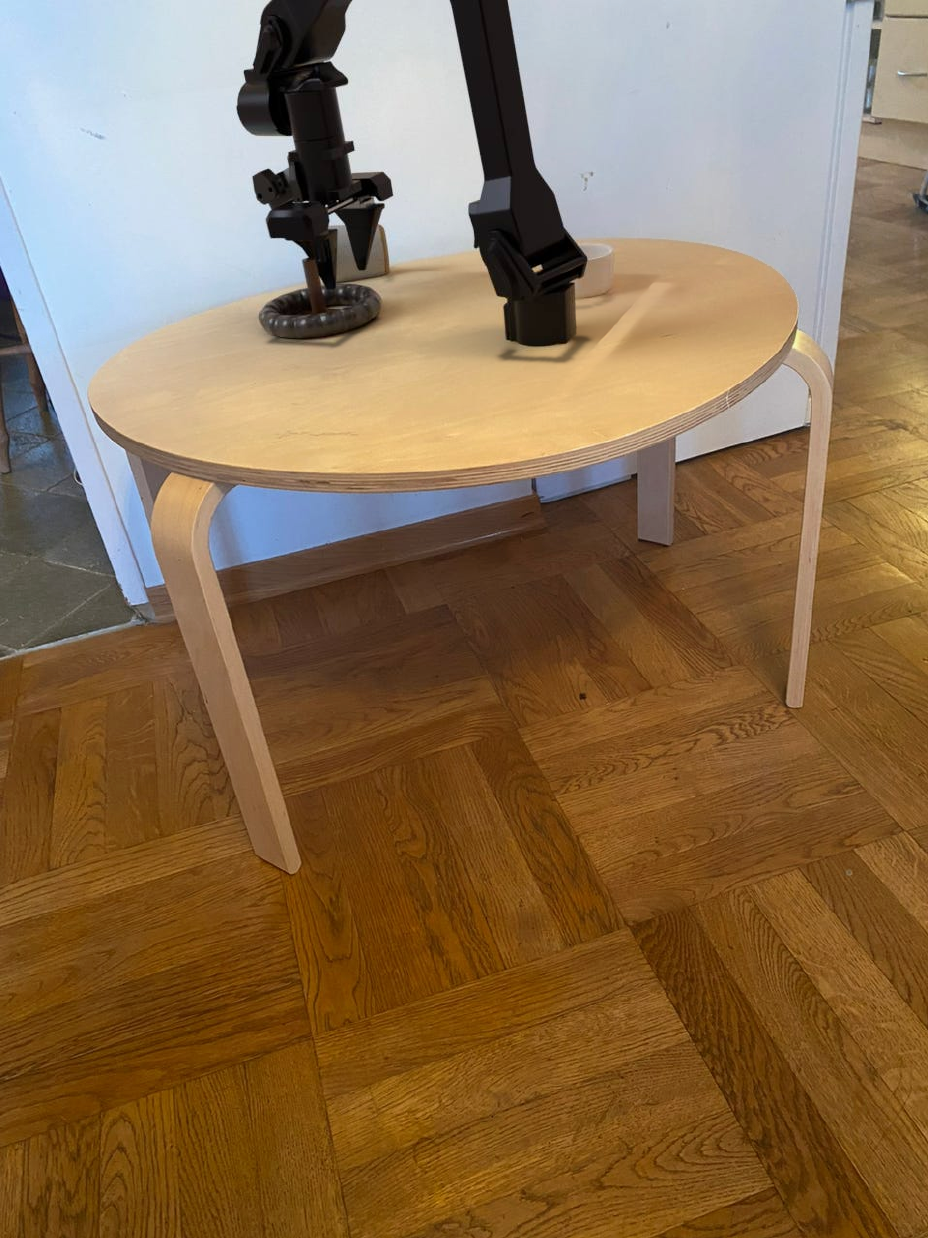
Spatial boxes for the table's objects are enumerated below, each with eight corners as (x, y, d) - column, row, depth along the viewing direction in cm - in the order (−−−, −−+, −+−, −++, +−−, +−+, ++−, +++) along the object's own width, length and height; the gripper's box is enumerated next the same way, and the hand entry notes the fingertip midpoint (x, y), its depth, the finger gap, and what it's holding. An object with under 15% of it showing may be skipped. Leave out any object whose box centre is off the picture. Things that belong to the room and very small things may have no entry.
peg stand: (374, 319, 105) (362, 248, 100) (334, 345, 99) (320, 270, 94) (312, 317, 109) (298, 248, 104) (271, 341, 103) (253, 269, 98)
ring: (403, 302, 105) (400, 282, 104) (341, 343, 95) (337, 321, 94) (306, 299, 111) (302, 280, 110) (237, 338, 101) (232, 317, 100)
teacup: (621, 304, 99) (620, 255, 96) (554, 313, 99) (552, 264, 96) (602, 281, 108) (601, 235, 104) (541, 290, 108) (538, 244, 104)
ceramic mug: (394, 283, 117) (385, 222, 113) (334, 293, 116) (322, 232, 112) (385, 266, 126) (377, 209, 121) (329, 275, 125) (318, 218, 120)
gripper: (306, 123, 107) (333, 256, 116) (210, 158, 94) (249, 303, 103) (383, 118, 102) (405, 256, 111) (293, 153, 89) (326, 306, 99)
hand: (347, 279), depth 106 cm, fingers open, 7 cm apart
